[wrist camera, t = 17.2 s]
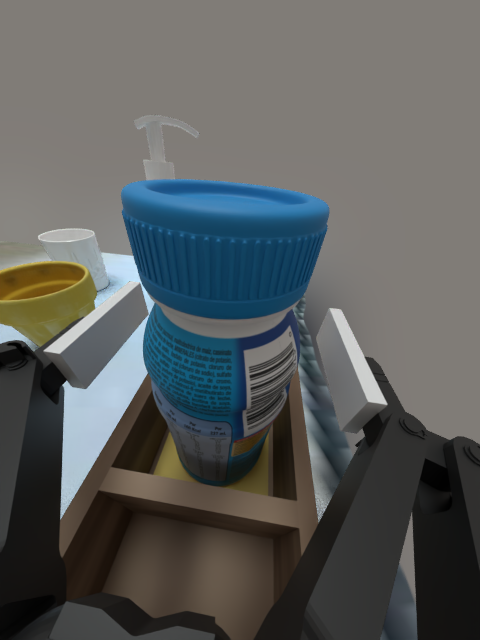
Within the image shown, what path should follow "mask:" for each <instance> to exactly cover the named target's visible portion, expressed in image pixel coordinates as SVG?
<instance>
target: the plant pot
mask: <svg viewBox="0 0 480 640" xmlns="http://www.w3.org/2000/svg"><path fill="white" fill-rule="evenodd" d="M96 296H97V290H96V287H95V284H94V281H93V279H92V276H91V274H90V272H89V270H88V269H87V267H85V266H84V265H82V264H79V263H75V262H68V261H44V262H35V263H28V264H23V265H18V266H14V267H10V268H7V269H3V270H0V323H1V324H4V325H8V326H12V327H13V328H15V329H16V330H17V331H19V332H20V333H21V334H23V335H24V336H26V337H27V338H28V339H30V340H31V341H32V342H34V343H35V344H36V345H38V346H39V347H41V346H42V345H44V344H45V343H46V342H48V341H49V340H50V339H51V338H53V337H54V336H55V335H56V334H59V332H60V331H62V330H63V329H65V327H67V326H68V325H69V324H71V323H72V322H73V321H75V320H77V319H79V318H81V317H83V316H84V317H86V316H87V315H88V314H90V313H91V312H92V311H93V310H95V304H94V300H95V298H96Z"/></svg>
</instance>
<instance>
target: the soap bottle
mask: <svg viewBox="0 0 480 640" xmlns="http://www.w3.org/2000/svg"><path fill="white" fill-rule="evenodd" d="M134 124H135V126H136V128H137V129H140V128H142V127H144V126H145V127H146V133H147V139H148V145H149V151H150V158H151V160H143V163H144V168H145V174H146V179H147V180H159V179H175V173H174V164H173V163H172V162H166V159H165V152H164V143H163V136H162V127H161V124H164V125H171V126H176V127H180V128H181V129H183V130H185V131H187V132H189V133H190V134H192V135H193V136H194V137H196V138H198V136H199V133H198V132H197V131H196V130H195V129H193V128H192V127H191V126H189V125H187V124H186V123H184V122H182V121H181V120H178V119H174V118H170V117H164V116H158V115H150V116H143V117H141V118H139V119H137V120H135V121H134Z"/></svg>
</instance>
